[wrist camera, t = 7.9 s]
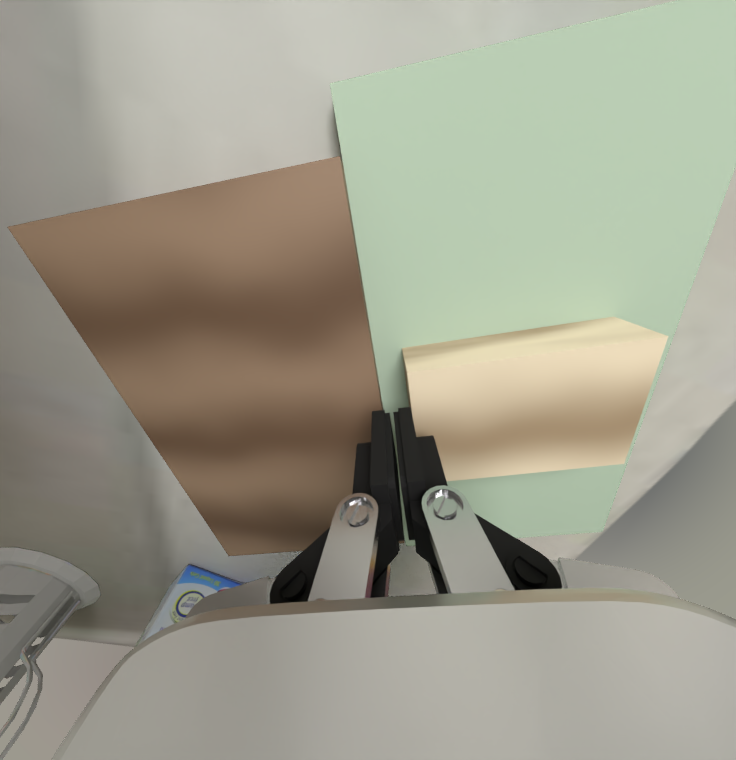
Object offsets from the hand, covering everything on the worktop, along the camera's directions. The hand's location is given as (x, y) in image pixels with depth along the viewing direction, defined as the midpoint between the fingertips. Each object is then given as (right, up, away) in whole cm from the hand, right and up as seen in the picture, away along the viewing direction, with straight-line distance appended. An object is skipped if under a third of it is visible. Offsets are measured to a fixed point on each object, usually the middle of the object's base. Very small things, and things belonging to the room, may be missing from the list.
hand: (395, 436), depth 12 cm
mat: (+6, +3, +2) cm, 7 cm away
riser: (-6, +1, +4) cm, 7 cm away
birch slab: (+5, +2, +2) cm, 6 cm away
